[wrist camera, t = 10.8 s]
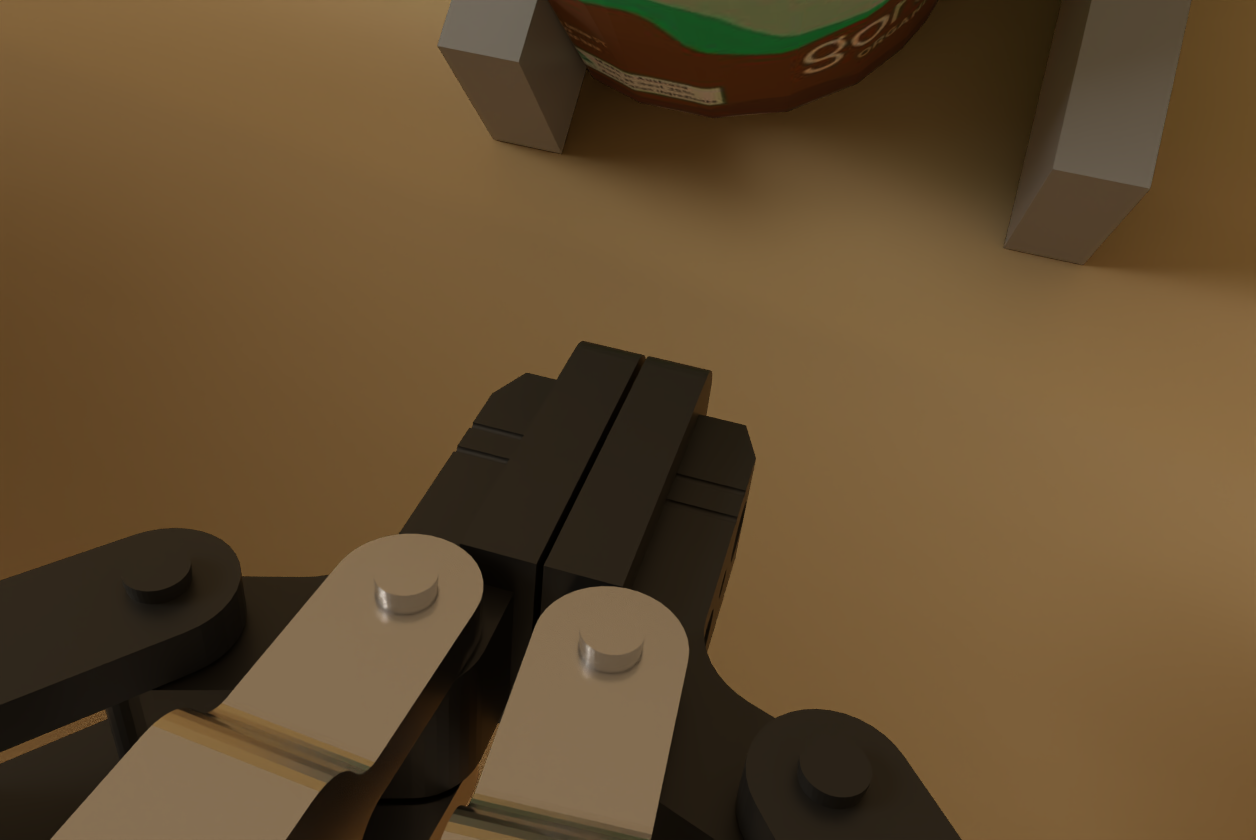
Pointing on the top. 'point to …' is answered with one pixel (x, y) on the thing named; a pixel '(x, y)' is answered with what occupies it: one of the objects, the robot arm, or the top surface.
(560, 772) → the robot arm
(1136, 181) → the dock
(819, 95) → the food container
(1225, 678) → the top surface
